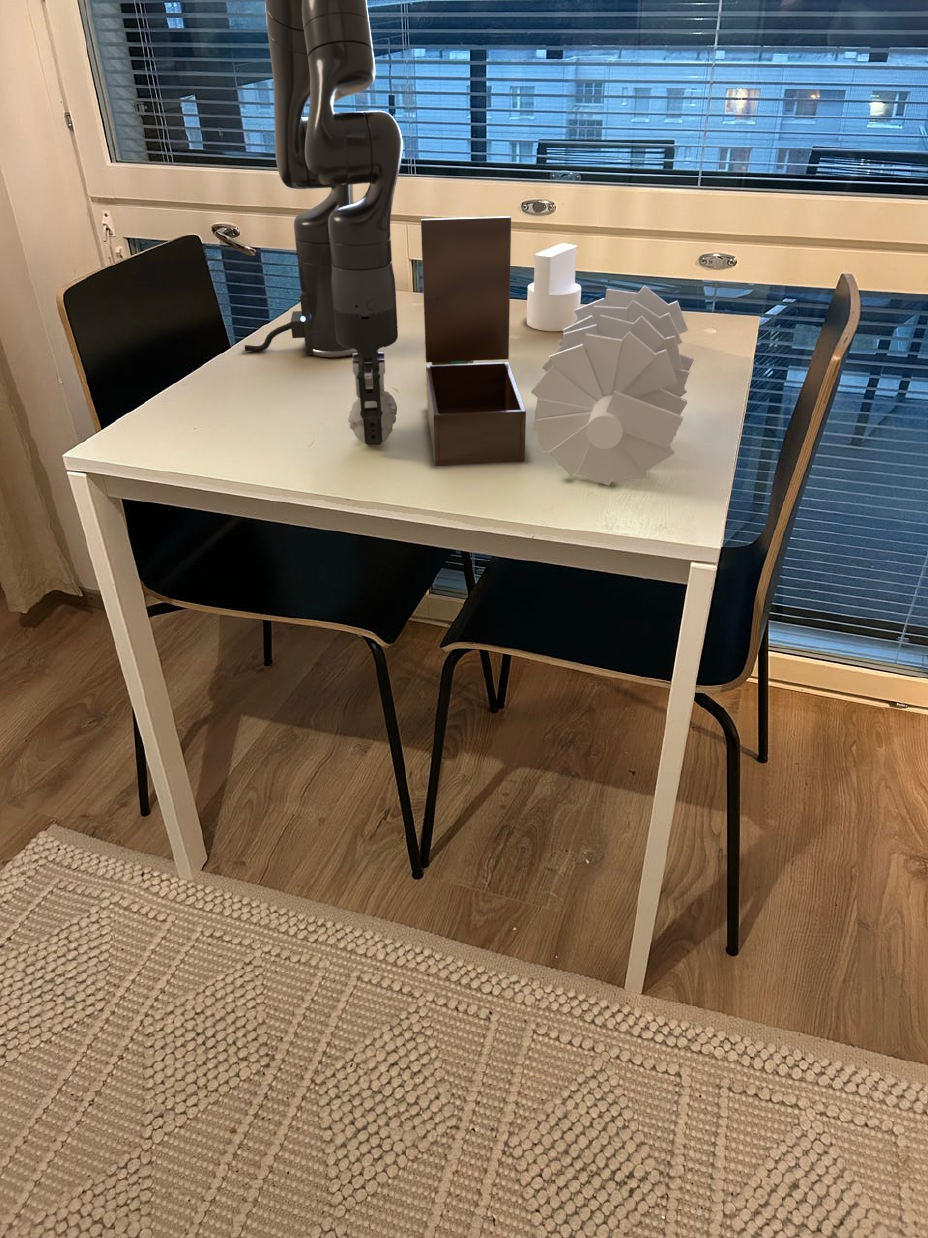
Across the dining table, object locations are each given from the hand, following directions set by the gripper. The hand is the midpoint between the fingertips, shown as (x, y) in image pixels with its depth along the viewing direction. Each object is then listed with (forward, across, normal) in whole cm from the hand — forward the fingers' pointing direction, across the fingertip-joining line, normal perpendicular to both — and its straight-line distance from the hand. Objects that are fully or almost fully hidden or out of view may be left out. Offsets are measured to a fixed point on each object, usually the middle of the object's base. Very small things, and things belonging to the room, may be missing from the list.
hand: (373, 432), depth 120 cm
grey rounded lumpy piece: (+2, 0, 0) cm, 2 cm away
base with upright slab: (+2, -46, +31) cm, 55 cm away
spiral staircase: (+2, +6, +30) cm, 30 cm away
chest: (+1, -1, +13) cm, 13 cm away
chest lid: (-15, -9, +13) cm, 22 cm away
